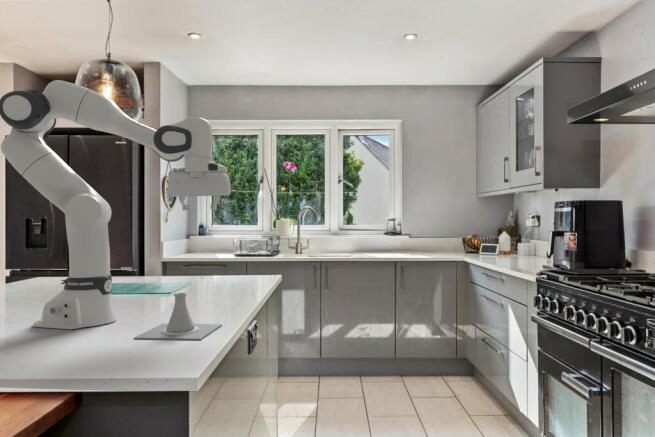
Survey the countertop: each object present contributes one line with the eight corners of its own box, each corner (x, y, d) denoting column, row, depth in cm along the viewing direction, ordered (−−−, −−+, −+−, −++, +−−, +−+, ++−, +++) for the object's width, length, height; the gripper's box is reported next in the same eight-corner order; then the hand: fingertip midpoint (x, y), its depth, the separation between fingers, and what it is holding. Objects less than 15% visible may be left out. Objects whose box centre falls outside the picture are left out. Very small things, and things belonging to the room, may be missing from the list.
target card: (133, 339, 117) (133, 336, 117) (162, 324, 133) (162, 322, 133) (200, 340, 115) (200, 337, 115) (221, 325, 131) (221, 323, 131)
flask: (182, 334, 119) (181, 296, 119) (160, 331, 122) (160, 294, 122) (199, 328, 126) (199, 292, 126) (179, 326, 128) (179, 291, 128)
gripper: (163, 167, 144) (164, 210, 144) (225, 165, 142) (226, 209, 142) (172, 169, 150) (173, 210, 150) (232, 167, 148) (232, 209, 148)
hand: (199, 210), depth 146 cm, fingers open, 8 cm apart
